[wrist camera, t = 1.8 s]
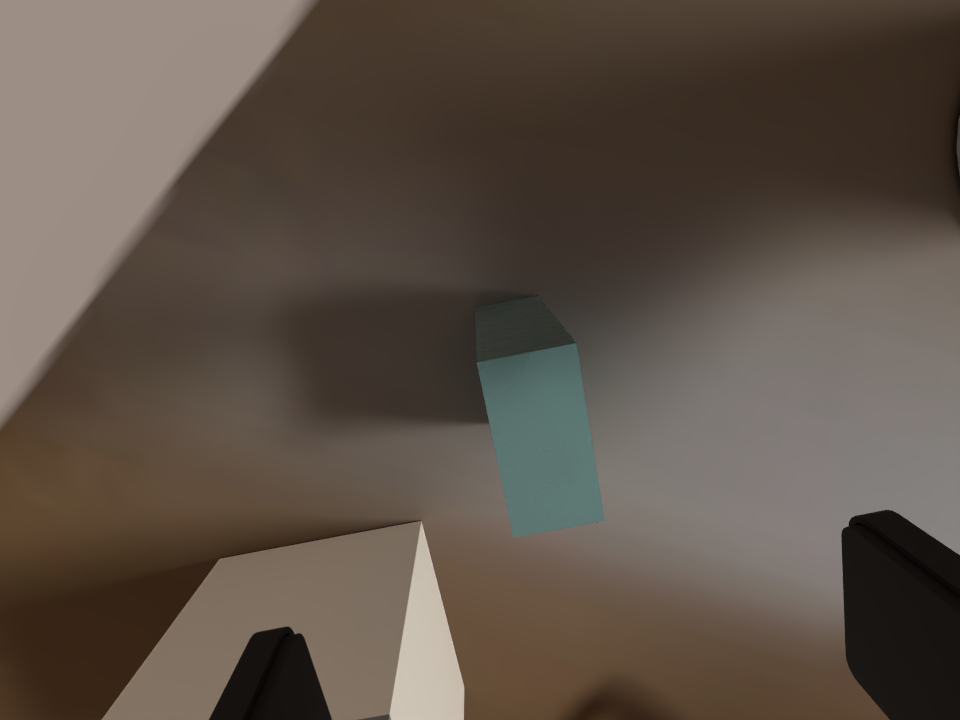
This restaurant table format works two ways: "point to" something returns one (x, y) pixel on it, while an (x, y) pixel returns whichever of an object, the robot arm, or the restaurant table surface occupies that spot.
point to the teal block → (537, 416)
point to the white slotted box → (314, 630)
